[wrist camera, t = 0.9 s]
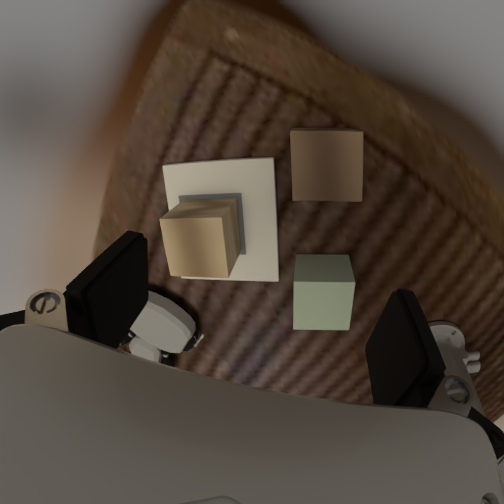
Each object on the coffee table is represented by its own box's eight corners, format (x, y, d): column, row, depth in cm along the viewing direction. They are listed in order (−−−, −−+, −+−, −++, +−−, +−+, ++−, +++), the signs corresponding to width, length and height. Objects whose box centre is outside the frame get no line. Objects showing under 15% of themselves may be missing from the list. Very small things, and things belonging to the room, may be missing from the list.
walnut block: (352, 128, 27) (362, 131, 22) (351, 185, 30) (361, 201, 25) (292, 127, 28) (289, 130, 23) (295, 184, 31) (292, 200, 26)
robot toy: (180, 364, 48) (214, 313, 40) (171, 384, 44) (204, 337, 36) (118, 327, 47) (136, 267, 39) (105, 345, 43) (119, 286, 35)
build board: (274, 157, 30) (273, 158, 29) (279, 277, 36) (278, 282, 35) (166, 164, 32) (161, 166, 31) (184, 274, 38) (180, 279, 37)
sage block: (348, 254, 33) (355, 282, 28) (344, 298, 36) (348, 329, 31) (296, 254, 34) (293, 281, 29) (296, 297, 37) (293, 329, 32)
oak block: (236, 198, 31) (221, 217, 26) (241, 250, 34) (228, 278, 29) (183, 200, 32) (159, 219, 27) (190, 250, 35) (170, 275, 30)
